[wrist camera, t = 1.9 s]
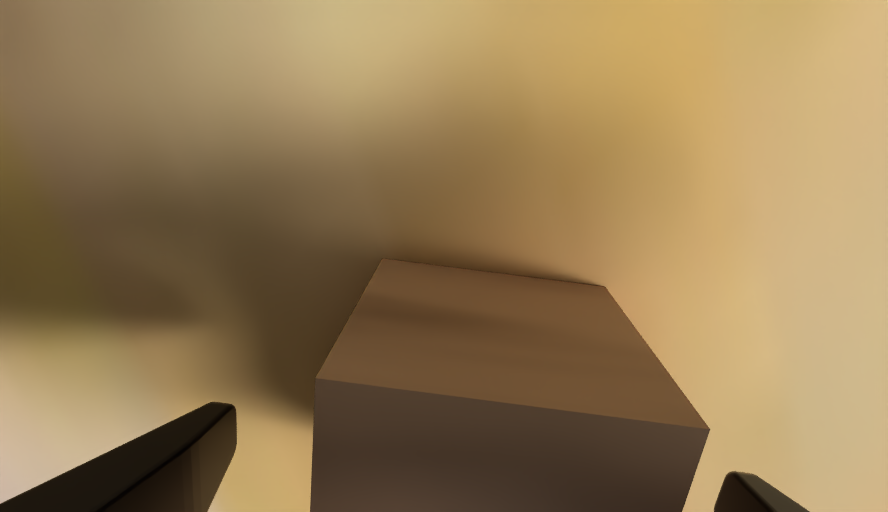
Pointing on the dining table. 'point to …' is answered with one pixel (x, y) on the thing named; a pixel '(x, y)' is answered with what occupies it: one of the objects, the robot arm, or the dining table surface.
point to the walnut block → (496, 401)
